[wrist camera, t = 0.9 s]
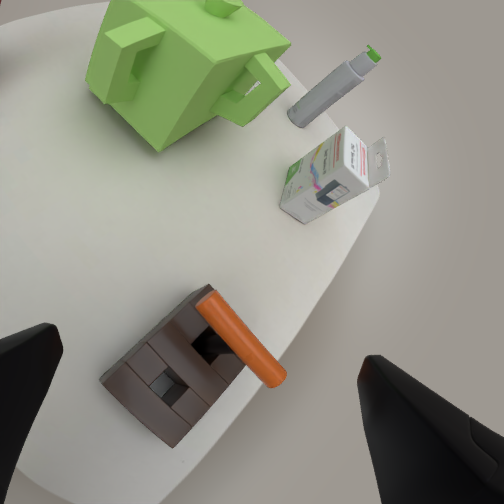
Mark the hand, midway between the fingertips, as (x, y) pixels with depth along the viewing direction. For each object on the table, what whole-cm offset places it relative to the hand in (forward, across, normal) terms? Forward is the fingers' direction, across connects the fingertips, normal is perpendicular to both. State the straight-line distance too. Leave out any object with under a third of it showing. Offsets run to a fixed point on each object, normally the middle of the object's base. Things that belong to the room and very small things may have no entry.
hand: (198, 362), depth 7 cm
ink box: (+36, -7, 0) cm, 37 cm away
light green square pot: (+32, +12, -12) cm, 36 cm away
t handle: (+16, +4, +12) cm, 20 cm away
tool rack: (+14, +5, +13) cm, 20 cm away
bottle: (+49, -8, -13) cm, 51 cm away
